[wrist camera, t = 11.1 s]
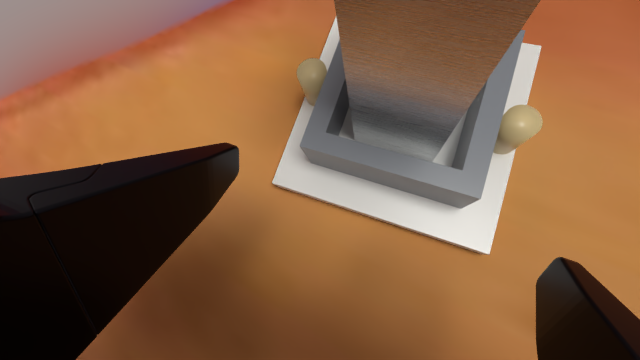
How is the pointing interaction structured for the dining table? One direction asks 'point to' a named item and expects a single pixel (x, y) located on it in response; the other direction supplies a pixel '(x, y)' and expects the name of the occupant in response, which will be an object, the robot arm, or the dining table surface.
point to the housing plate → (406, 171)
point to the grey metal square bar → (420, 65)
